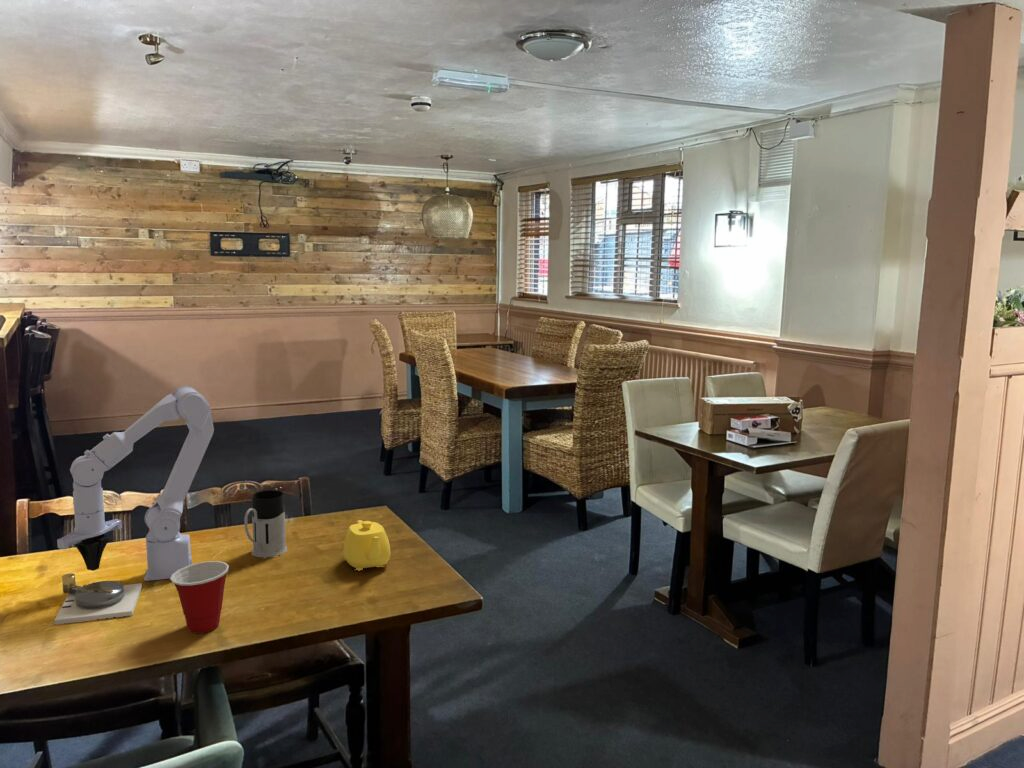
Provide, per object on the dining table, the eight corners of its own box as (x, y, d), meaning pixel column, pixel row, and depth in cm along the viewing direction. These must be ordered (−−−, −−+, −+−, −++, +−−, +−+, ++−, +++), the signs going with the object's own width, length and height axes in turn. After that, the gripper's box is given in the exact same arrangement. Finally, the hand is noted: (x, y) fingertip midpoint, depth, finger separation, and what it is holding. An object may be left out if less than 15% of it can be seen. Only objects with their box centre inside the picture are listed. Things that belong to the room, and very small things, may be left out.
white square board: (141, 587, 166) (141, 582, 166) (132, 615, 153) (131, 610, 153) (70, 595, 162) (70, 590, 161) (54, 624, 149) (54, 619, 148)
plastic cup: (184, 614, 154) (181, 559, 152) (237, 613, 155) (235, 558, 153) (164, 640, 143) (161, 581, 142) (222, 639, 144) (219, 581, 142)
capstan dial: (133, 593, 160) (132, 578, 159) (97, 611, 151) (96, 595, 151) (84, 582, 165) (83, 567, 164) (46, 598, 157) (44, 582, 156)
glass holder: (294, 547, 191) (292, 491, 189) (263, 568, 178) (261, 508, 176) (264, 543, 194) (262, 488, 191) (231, 564, 180) (228, 504, 178)
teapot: (400, 575, 176) (400, 532, 174) (354, 583, 171) (353, 538, 169) (379, 548, 192) (379, 509, 190) (337, 555, 187) (336, 514, 185)
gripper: (104, 498, 171) (107, 554, 174) (45, 517, 158) (49, 578, 160) (127, 502, 169) (130, 559, 171) (69, 522, 156) (73, 583, 158)
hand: (93, 569), depth 165 cm, fingers closed
